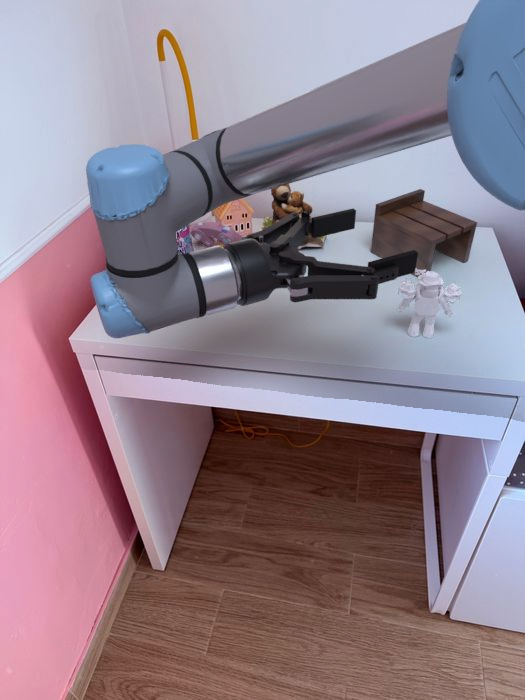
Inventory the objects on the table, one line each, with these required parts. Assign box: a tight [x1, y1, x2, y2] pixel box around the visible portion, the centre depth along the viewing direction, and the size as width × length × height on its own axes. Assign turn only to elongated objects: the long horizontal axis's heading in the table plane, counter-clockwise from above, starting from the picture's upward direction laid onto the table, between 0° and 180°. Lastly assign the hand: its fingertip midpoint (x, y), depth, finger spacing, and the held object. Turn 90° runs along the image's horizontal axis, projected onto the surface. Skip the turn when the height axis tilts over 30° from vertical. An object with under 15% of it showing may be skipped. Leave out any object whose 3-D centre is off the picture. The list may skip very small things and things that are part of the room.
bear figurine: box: [258, 183, 328, 250], centre depth 106 cm, size 14×15×12 cm
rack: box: [370, 188, 478, 278], centre depth 98 cm, size 14×12×10 cm
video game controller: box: [190, 221, 244, 248], centre depth 106 cm, size 10×5×7 cm, turn 68°
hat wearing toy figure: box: [397, 268, 463, 339], centre depth 78 cm, size 9×4×12 cm, turn 77°
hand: (382, 238), depth 68 cm, fingers open, 13 cm apart
